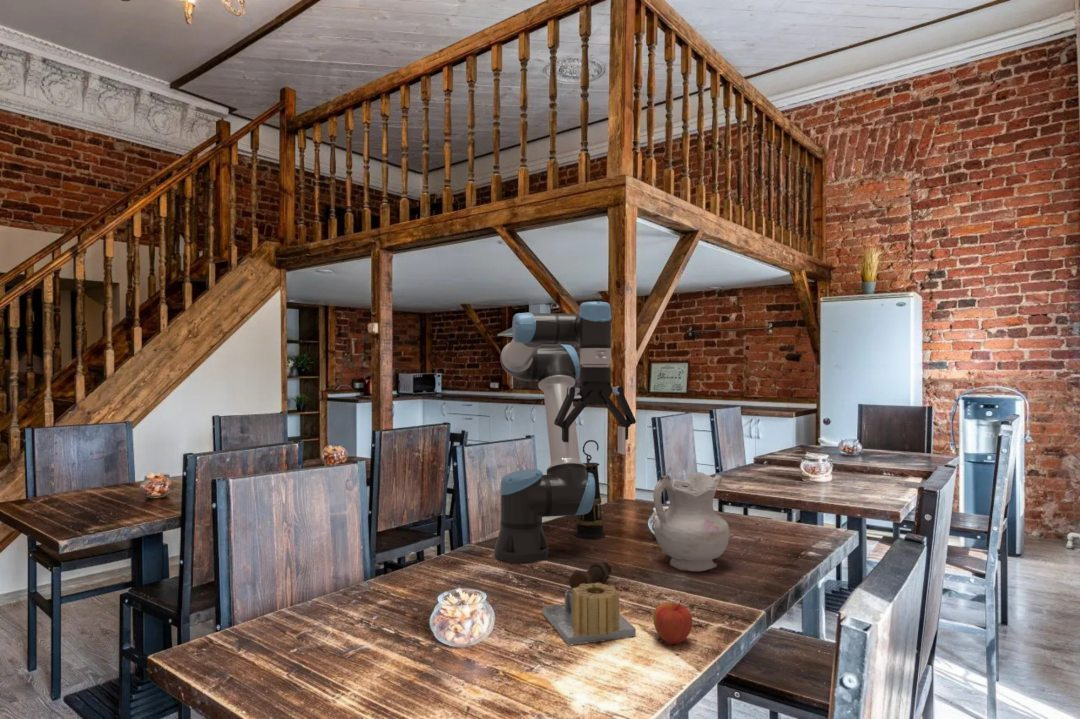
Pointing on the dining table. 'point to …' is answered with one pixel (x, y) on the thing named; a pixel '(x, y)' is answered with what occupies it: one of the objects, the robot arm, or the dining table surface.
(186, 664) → the dining table surface
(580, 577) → the bolt
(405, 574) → the dining table surface
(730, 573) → the dining table surface
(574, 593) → the gear
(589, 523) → the lantern
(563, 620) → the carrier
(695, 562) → the ceramic pitcher
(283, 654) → the dining table surface
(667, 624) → the apple
